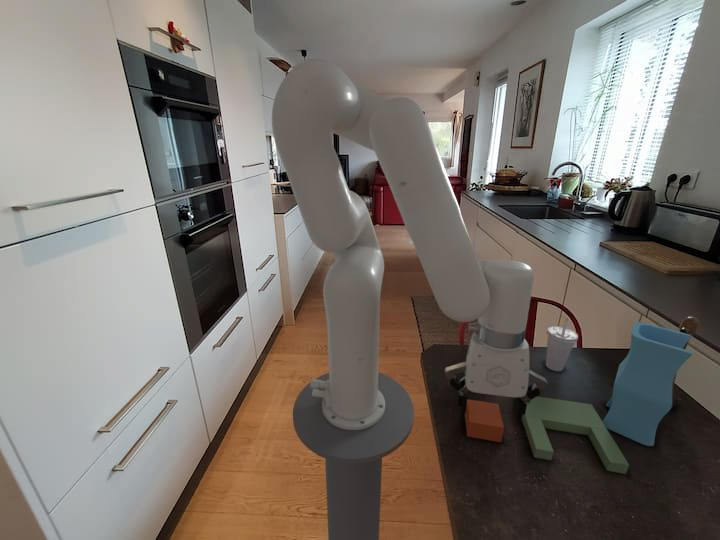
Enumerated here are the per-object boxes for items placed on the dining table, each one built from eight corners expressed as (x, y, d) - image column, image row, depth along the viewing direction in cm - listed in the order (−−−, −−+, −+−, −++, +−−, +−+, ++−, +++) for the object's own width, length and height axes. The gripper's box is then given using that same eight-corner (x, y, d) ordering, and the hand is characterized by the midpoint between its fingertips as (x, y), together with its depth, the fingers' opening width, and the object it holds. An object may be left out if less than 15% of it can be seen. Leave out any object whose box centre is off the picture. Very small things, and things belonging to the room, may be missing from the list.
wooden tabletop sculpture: (667, 413, 66) (703, 326, 59) (639, 399, 70) (670, 316, 63) (678, 402, 69) (713, 319, 62) (651, 389, 73) (681, 309, 66)
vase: (653, 449, 58) (693, 354, 51) (600, 425, 63) (630, 336, 56) (655, 424, 63) (691, 334, 57) (606, 404, 68) (634, 320, 62)
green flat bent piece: (533, 457, 56) (536, 448, 56) (515, 401, 69) (517, 393, 68) (626, 474, 53) (629, 465, 53) (589, 412, 66) (591, 404, 66)
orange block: (467, 436, 60) (469, 421, 59) (464, 412, 66) (466, 399, 65) (501, 442, 59) (504, 427, 58) (495, 418, 65) (498, 403, 63)
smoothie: (541, 371, 79) (553, 319, 74) (538, 356, 84) (549, 308, 80) (571, 377, 77) (586, 325, 72) (566, 362, 82) (579, 312, 77)
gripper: (448, 339, 54) (442, 420, 60) (564, 349, 50) (546, 434, 56) (447, 318, 61) (442, 392, 66) (548, 325, 57) (534, 404, 63)
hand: (489, 411), depth 61 cm, fingers open, 9 cm apart
